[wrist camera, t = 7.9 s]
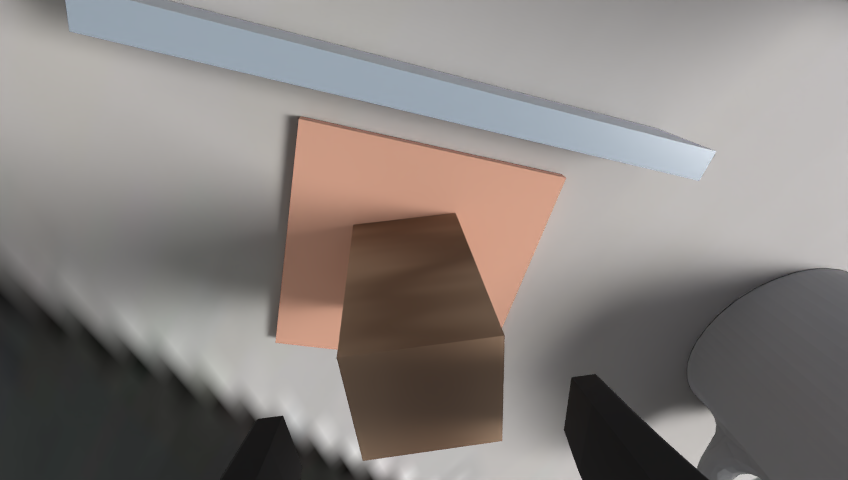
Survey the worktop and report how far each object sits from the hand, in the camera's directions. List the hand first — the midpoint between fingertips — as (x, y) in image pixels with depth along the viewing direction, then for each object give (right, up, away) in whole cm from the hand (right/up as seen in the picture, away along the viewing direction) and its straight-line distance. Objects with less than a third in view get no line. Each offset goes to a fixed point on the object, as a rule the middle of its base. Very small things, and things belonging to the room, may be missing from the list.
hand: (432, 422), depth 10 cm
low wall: (0, +10, +4) cm, 11 cm away
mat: (-1, +4, +7) cm, 8 cm away
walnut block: (-1, +4, +6) cm, 7 cm away
